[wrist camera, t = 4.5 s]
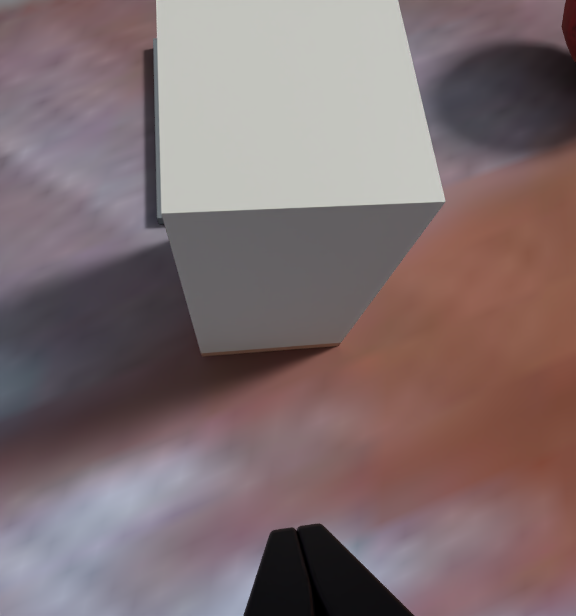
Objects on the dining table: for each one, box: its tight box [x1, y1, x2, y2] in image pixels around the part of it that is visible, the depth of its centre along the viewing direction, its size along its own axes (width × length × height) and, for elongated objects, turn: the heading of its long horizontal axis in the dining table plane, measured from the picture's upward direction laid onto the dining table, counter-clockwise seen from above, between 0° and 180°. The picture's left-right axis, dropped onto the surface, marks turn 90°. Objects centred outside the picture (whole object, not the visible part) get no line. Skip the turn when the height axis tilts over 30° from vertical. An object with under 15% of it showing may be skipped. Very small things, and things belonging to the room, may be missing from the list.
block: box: [156, 0, 445, 356], centre depth 13 cm, size 4×4×9 cm
